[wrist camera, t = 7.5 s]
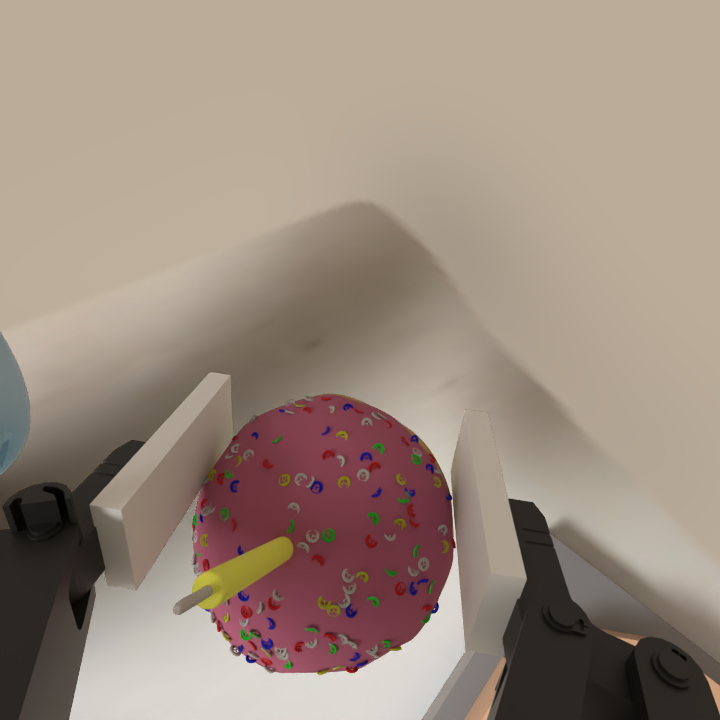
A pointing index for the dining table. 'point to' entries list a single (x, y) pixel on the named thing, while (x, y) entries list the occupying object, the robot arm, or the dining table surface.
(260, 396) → the dining table surface
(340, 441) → the cupcake
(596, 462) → the dining table surface
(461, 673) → the ring dish
